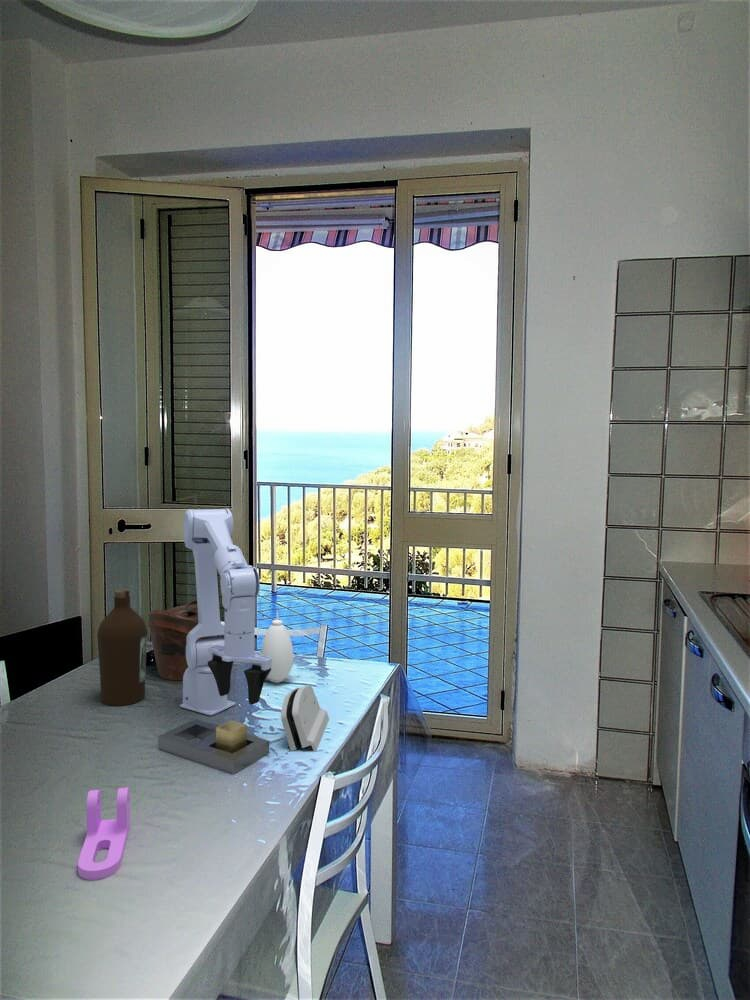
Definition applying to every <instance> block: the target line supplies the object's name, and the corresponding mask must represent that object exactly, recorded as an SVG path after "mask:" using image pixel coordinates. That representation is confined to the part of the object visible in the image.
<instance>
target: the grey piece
mask: <svg viewBox="0 0 750 1000" xmlns="http://www.w3.org/2000/svg"><path fill="white" fill-rule="evenodd" d="M280 719H281V723H282V727H283V729H284V733H285V736H286V740H287V744H288V747H289V750H290V751H291V752H292V751H297V749H298V748H299V746H300V747H301V748H302V749H304V748H307V747H310V746H311V748H312V750H313V752H317V751H318V748H319V746H320V743H321V741H322V738H323V736H324V733H325V730H326V728H327V726H328V722H329V720H330V717H329V714H328V712H327V710H325V709H322V708H321V707H320V704H319V701H318V699H317V696H316V694H315V691H314V689H313V687H312V685H302V686H301V687H297V688H294V689H293V690H290V691H288V693H287V694H286V696H285V697H284V700H283V703H282V706H281V711H280Z"/></svg>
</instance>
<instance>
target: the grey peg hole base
mask: <svg viewBox="0 0 750 1000" xmlns="http://www.w3.org/2000/svg"><path fill="white" fill-rule="evenodd" d="M218 726H219V725H217V724H214V723H212V722H208V721H205V720H201V719H198V718H194V719H192V720H190V721H188V722H186V723H184V724H182V725H179V726H177V727H175V728H172V729H171V730H169V731H168V730H167V732H164V733H162V734H160V735H157V748H158V750H161V751H164V752H166V753H170V754H173V755H175V756H179V757H181V758H185V759H187V760H190V761H193V762H196V763H199V764H202V765H205V766H208V767H211V768H213V769H216V770H220V771H223V772H225V773H226V772H227V773H229V774H232V775H235V774H236V773H238V772H240V771H241V770H243V769H245V768H247V767H248V766H250V765H252V764H254V763H255V762H257V761H258V760H260V759H262V758H264V757H265V756H267V755H269V754H270V740H268V739H265V738H262V737H259V736H255V735H251V734H249V733H247V746H246V747H244V748H242V749H240V750H239V751H237V752H235V753H233V754H232V753H229V752H226V751H222V750H219V749H216V727H218ZM196 737H197V738H200V740H198V741H194V740H192V739H194V738H196Z"/></svg>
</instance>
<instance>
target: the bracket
mask: <svg viewBox="0 0 750 1000" xmlns="http://www.w3.org/2000/svg"><path fill="white" fill-rule="evenodd" d="M130 794H131V793H130V787H127V786H125V787H119V788H118V790H117V796H116V818H113V819H111V818H110V819H102V801H101V800H102V798H101V796H102V794H101V789H93V790H89V791H88V793H87V797H86V811H85V812H86V837H85V839H84V843H83V845H82V849H81V852H80V854H79V857H78V859H77V874H78V875H79V877H80V878H82V879H84V880H89V881H93V880H94V881H96V880H102V879H106V878H108V877H110V876H112V875H114V874H115V873H117V872H118V871H119V870H120V869H121V866H122V861H123V858H124V855H125V854H124V853H125V849H126V845H127V840H128V836H129V831H130V826H131V806H130V805H131V802H130V801H131V799H130V797H131V795H130ZM103 849H108V852H107V855H106V859H104V860H102V861H100V862H95V861H96V857H97V855H98V852H99V851H100V850H103Z"/></svg>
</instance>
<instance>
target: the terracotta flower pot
mask: <svg viewBox="0 0 750 1000" xmlns="http://www.w3.org/2000/svg"><path fill="white" fill-rule="evenodd" d="M147 616H148V617H147V618H148V621H147V623H148V624H147V627H148V628H149V629H148V632H149V635H150V639H151V643H152V649H153V652H154V657H155V663H156V669H157V673H158V675H159V676H160V678H162V679H165V680H171V681H183V676H184V673H185V671H186V669H187V668H188V667H189V666H188V664H187V660H186V644H187V641H186V637H187V635H188V633H189V632H190V631H191V630H192V629H193V628H194V627H196V626H197V625H198V606H197V600H194V601H191V602H190V603H186V604H184V605H179V606H175V607H172V608H169V609H164V610H161V609H159V610H157V609H156V610H155V609H154V610H150V611H149V612H148V615H147ZM220 623H222V621H221V618H220ZM217 637H218V635H215V636H206V637H200V638H198V639H197V640H200V639H208V638H217Z"/></svg>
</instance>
